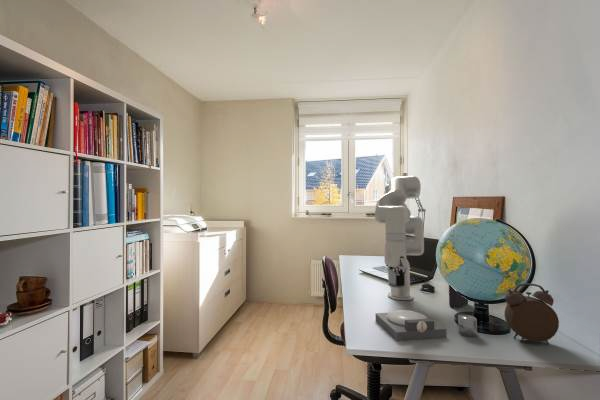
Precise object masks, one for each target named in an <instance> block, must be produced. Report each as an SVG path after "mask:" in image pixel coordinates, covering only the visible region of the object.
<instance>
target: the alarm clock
mask: <svg viewBox="0 0 600 400" xmlns="http://www.w3.org/2000/svg"><path fill="white" fill-rule="evenodd" d="M524 286H532V287H533V286H534V287H538V288H539V289H540V290H537V291H535V292H534V293H533V294H532V292H530V291H528V292H527V291H526V292H525V294H526V295H524V294H523V293H522V292H520V291H518V290H519V288H520V287H524ZM530 295H531V296H530ZM504 298H505V301H506V303H507V304H506V307H505V308H504V319H505V321H506V324H507V325H508V327H509V328H510V329H511V330H512V331H513V332H514V336H513V337H512V338H513V339H517V336H519V337H521V340H520V343H523V341H524V340H525V341H526V340H527V341H529V342H533V343H543V342H545V343H546V344H547V345H550V342H549V340H551V339H552V338H553V337H554V336H555V335H556V334H557V332H558V330H559V327H560V323H559V322H560V321H559V317H558V315H557V313H556V311H555V310H554V309H553V308H552V307H553V305H554V298H553V297H552V294H550V293H549V290H548V289H547V290H545V289H544V288H543V286H542V285H539V284H536V283H526V282H525V283H519V284H517V285H516V286H515V287H514V289H513V290H511V289H508V291H507V293H506V294H505V296H504Z"/></svg>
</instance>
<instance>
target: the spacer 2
mask: <svg viewBox="0 0 600 400" xmlns="http://www.w3.org/2000/svg"><path fill="white" fill-rule="evenodd" d="M457 321H458V322H457V325H458V326H457V327H458V328H457V329H458V334H460V335H461V336H462V337H467V338H476V337H478V324H477V321H478V319H477V318H476V317H475V316H473V315H469V314H459V315H457Z"/></svg>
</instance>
